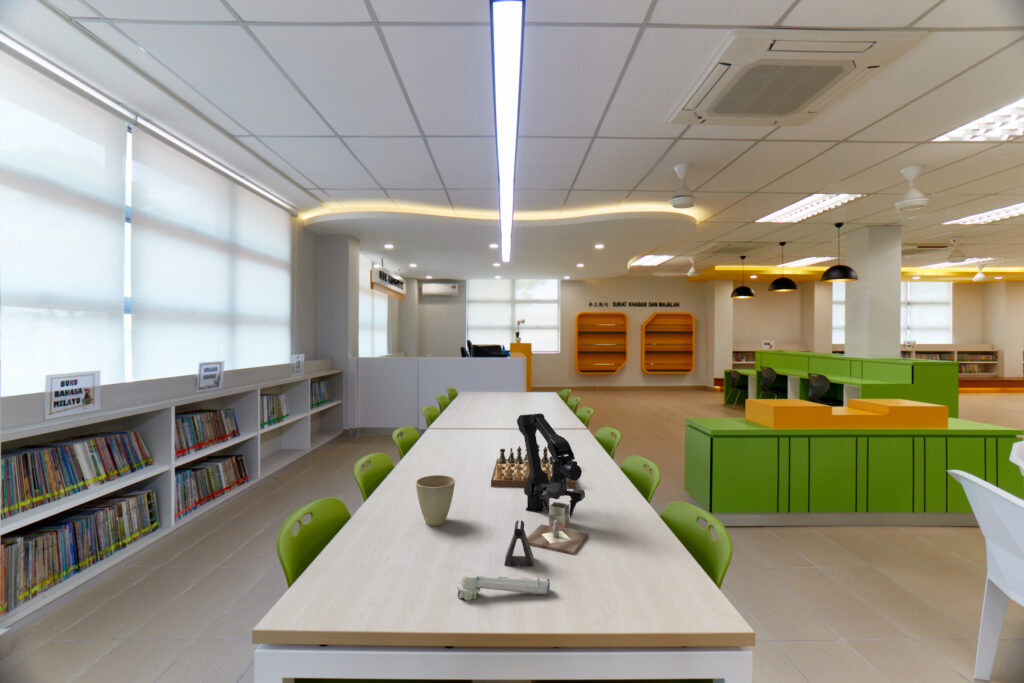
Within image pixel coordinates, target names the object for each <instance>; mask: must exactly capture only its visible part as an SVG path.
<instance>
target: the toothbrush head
mask: <svg viewBox="0 0 1024 683" xmlns="http://www.w3.org/2000/svg"><path fill="white" fill-rule="evenodd" d="M550 582H551V581H550V579H549V578H543V577H538V575H536V576H535V577H525V576H523V577H522V576H501V575H500V576H497V575H478V574H476V573H475V572H470V571H468V572H465V573H463V574H462V577H461V581H460V582H458V583H457V587H456V588H457V590H458V591H457V597H458V598H459V599H464V601H471V600H476V599H477V598H478V597H479V592H480V591H481V589H484V590H485V589H486V590H492V591H501V592H502V591H503V592H504V591H505V592H514V593H515V592H516V593H525V594H532V595H533V594H534V596H537V595H549V594H550V588H551V587H550V586H551V584H550Z"/></svg>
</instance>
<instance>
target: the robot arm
mask: <svg viewBox="0 0 1024 683" xmlns="http://www.w3.org/2000/svg"><path fill="white" fill-rule="evenodd" d="M516 423H517V426H518V431H519V432H520V434H521V435H522V436H523V438H524V444H525V445H526V446H525V450H527V451H526V453H527V456H528V462H529V468H530V472H529V475H528V478H527V480H528V484H527V485H526V486H525V488H523V493H524V495H526V496H527V502H526V505H527V507H526V508H525V510H526V511H529V512H530V511H531V512H534V513H542V512H543V511H544V510H546V513H547V514H549V506H550V499H554V500H559V499H560V497H565V496H567V497H569V498H570V500H569V518H570V517H572V516H573V513H574V510H575V509H576V505H577V504H578V503H580V502H582V501H583V500H584V499H585V498H586V492H585V490H584V489H582V488H575V489H573V490H569V488H568V486H567V478H568V479H571V480H573V481H575V482H577V481H578V480H580V479H581V477H582V474H583V472H582V468H581V466H580V465H578V461H576V460H575V459H576V458H575V454H574V452H573V449H572V447H571V445H570V442H569V441H568V440H567V439H566V438H565V437H563V436H561V435H559V434H558V433H557V432H556V431H555V430H554V428H553V427H552V426H551V424H550V423H549V422H548V420H547V419H546V418H545V415H544V414H543V413H541V412H539V413H529V414H519V415H518V417H517V419H516ZM537 431H538V432H539V433H540V434H541V436H542V437H543V439H544V440H545V442H546V443H547V444H546V445H547V446H546V448H547V450H548V452H549V454H550V456H549V457H548V460H552V477H551V481H550V484H549V480H548V474H547V473H546V472H544V471H543V470H542V468H541V463H540V458H541V456H540V451H538V446H537V444H538V441H537V435H536V434H537ZM563 455H564V456H563ZM539 456H540V457H539ZM560 456H562V457H560Z"/></svg>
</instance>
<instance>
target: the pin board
mask: <svg viewBox="0 0 1024 683" xmlns="http://www.w3.org/2000/svg"><path fill="white" fill-rule="evenodd" d="M588 536H589V534H588V532H583V531H577V530H572V529H568V528H561V527H559V521H558V520H555V521H554V526H551V525H546V524H542V523H541V524H540V525H539V526H538V527H537V528H536V529H535V530H533V532H532V533H530V534H529V535H528V536H527V539H528V542H529V545H530V547H535V548H541V549H545V550H551V551H555V552H559V553H563V554H569V555H573V556H574V555H575V554H576V552H577V551H578V550H579V548H580V547H581V546H582V544H583V543H584V542H585V540H586V539H587V538H588Z"/></svg>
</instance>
